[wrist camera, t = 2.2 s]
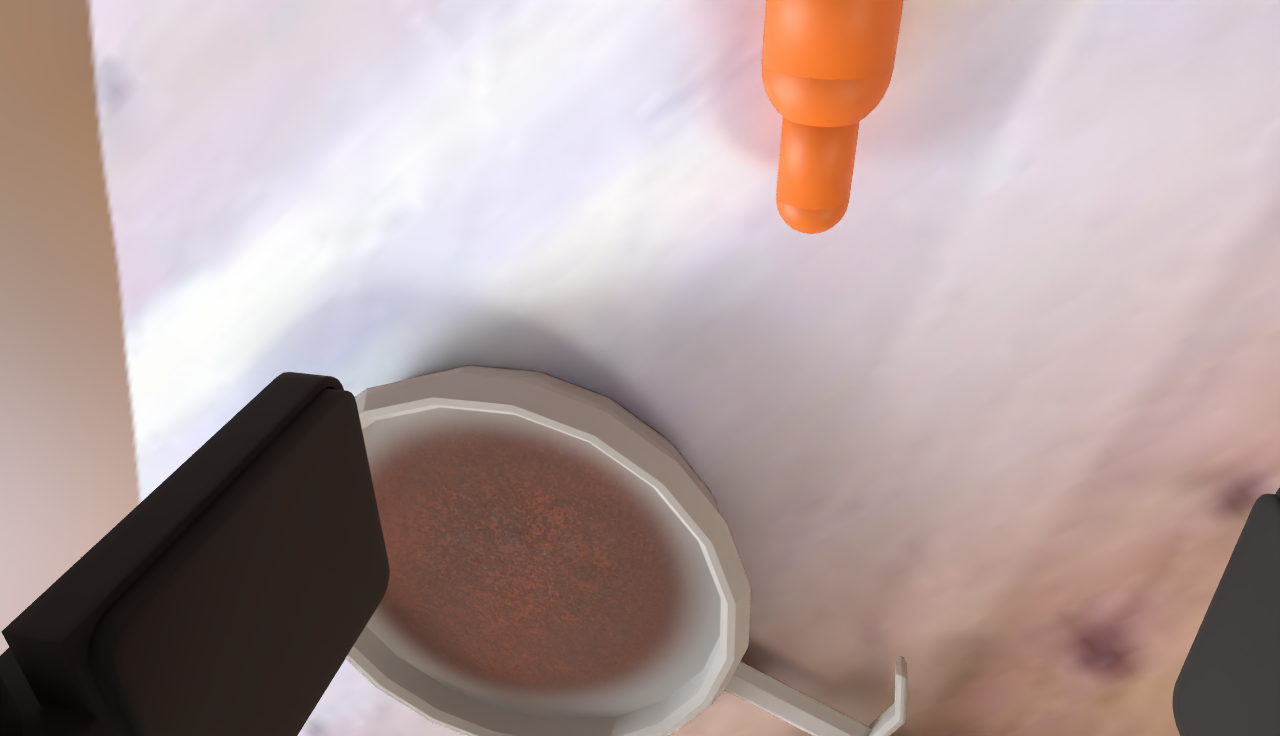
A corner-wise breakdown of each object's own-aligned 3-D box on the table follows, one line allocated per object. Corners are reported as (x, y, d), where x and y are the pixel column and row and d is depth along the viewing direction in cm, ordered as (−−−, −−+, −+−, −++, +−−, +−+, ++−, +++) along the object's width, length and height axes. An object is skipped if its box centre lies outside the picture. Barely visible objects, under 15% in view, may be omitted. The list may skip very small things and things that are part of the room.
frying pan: (859, 936, 36) (227, 636, 34) (858, 866, 39) (268, 582, 37) (1169, 719, 27) (329, 292, 25) (1142, 645, 29) (375, 251, 28)
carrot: (789, -237, 19) (777, -249, 17) (934, -239, 19) (944, -252, 16) (756, 205, 24) (743, 248, 22) (869, 215, 24) (868, 259, 21)
